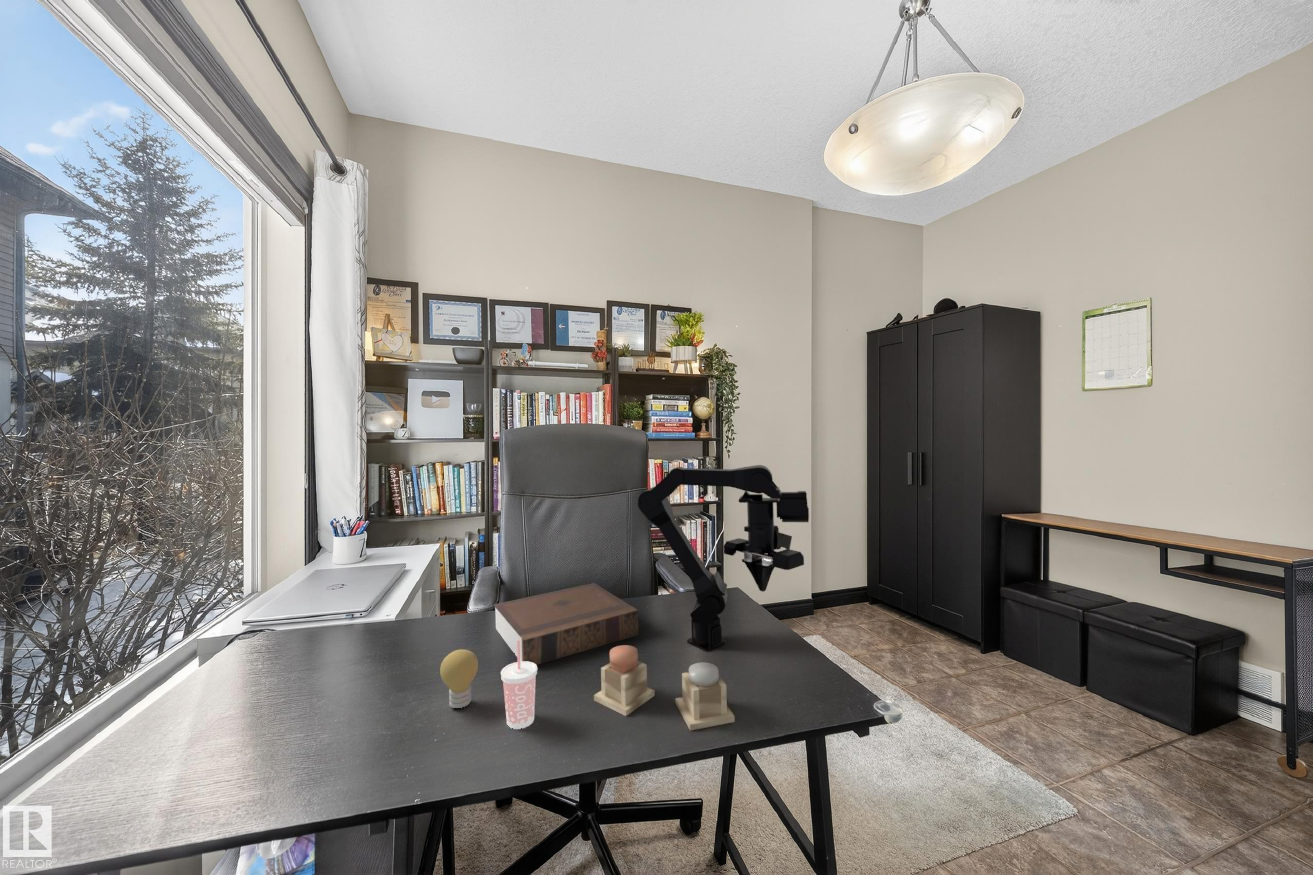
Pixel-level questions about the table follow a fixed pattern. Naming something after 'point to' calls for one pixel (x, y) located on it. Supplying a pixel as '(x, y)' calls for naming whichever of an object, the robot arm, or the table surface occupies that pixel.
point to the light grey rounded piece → (703, 674)
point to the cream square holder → (624, 689)
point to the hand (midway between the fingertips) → (762, 590)
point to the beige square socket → (704, 704)
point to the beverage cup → (519, 692)
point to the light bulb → (459, 676)
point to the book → (564, 622)
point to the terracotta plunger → (623, 658)
